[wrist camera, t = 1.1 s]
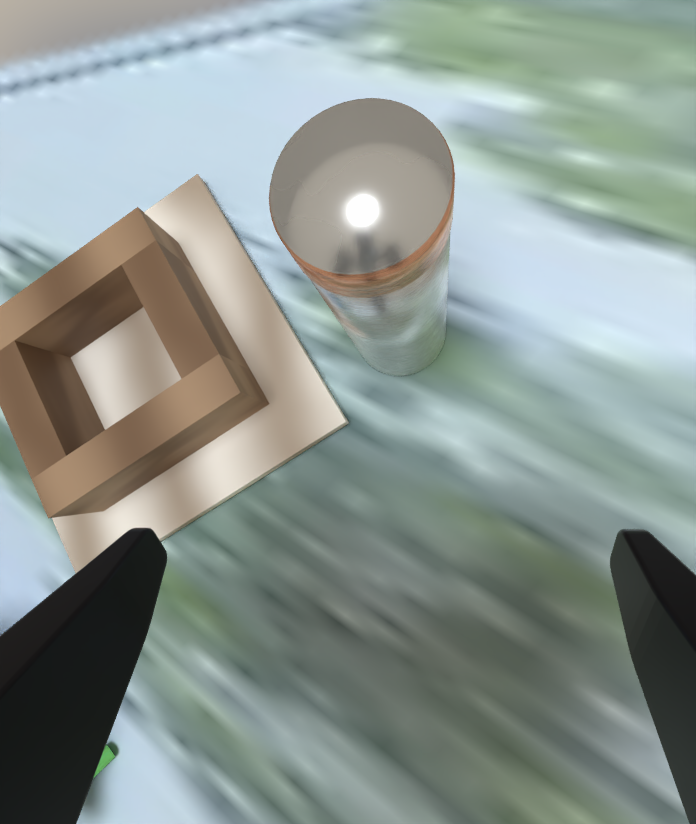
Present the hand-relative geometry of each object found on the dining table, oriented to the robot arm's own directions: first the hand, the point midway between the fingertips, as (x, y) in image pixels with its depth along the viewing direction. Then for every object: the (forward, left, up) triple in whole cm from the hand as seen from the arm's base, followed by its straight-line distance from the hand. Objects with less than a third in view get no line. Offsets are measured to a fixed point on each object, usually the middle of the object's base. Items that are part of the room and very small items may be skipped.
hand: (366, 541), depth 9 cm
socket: (-9, +13, -13) cm, 20 cm away
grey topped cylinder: (+4, +7, -13) cm, 16 cm away
